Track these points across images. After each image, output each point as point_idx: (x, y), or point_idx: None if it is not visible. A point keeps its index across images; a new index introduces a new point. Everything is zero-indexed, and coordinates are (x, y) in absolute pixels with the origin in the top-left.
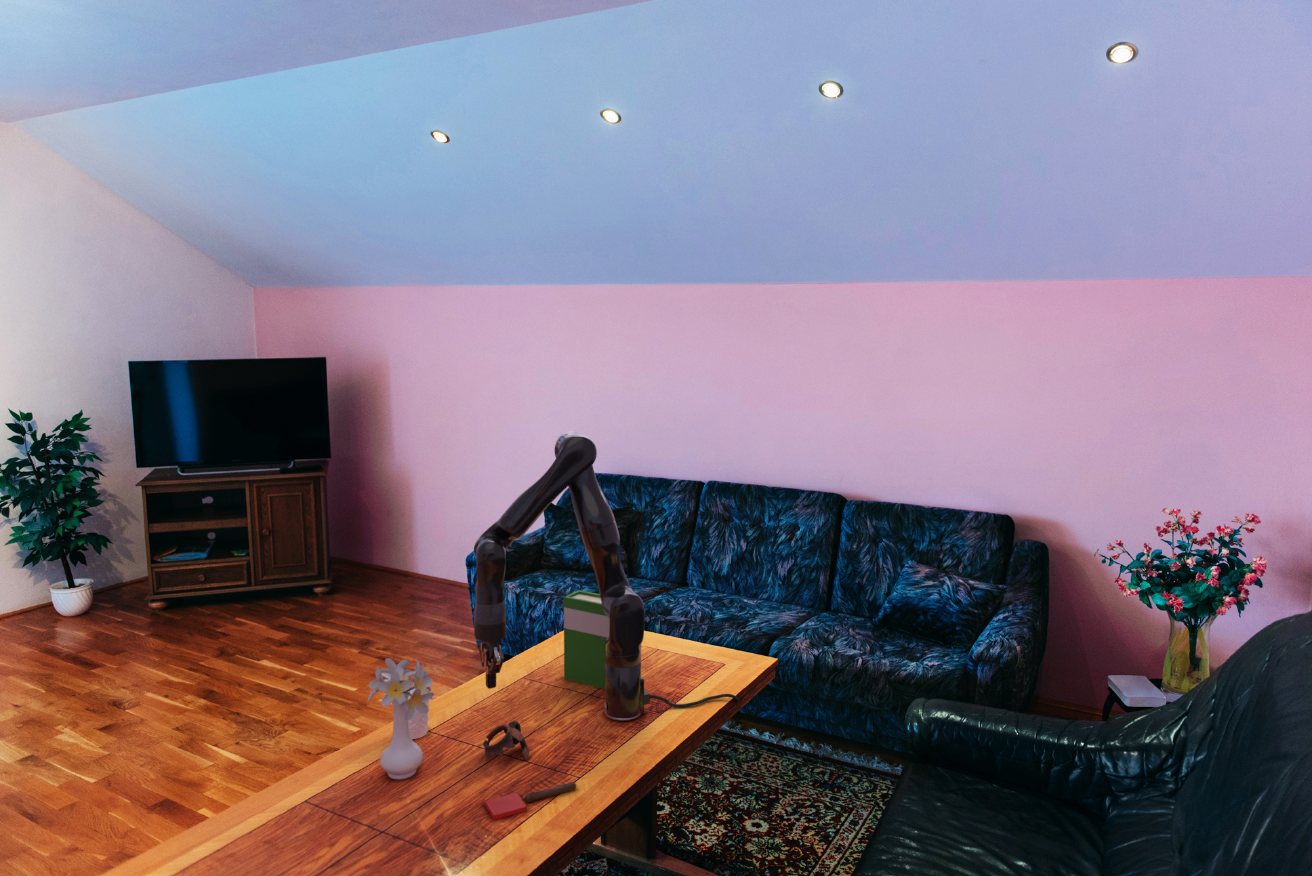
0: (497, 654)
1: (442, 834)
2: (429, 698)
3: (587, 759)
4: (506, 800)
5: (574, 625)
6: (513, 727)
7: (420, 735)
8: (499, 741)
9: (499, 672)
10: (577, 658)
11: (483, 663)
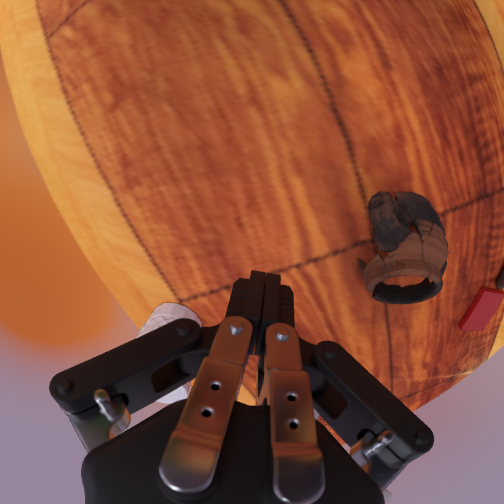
0: (389, 481)
1: (446, 368)
2: (384, 490)
3: (500, 124)
4: (482, 309)
5: None
6: (404, 234)
7: (201, 326)
8: (429, 297)
9: (339, 345)
10: None
11: (194, 376)
